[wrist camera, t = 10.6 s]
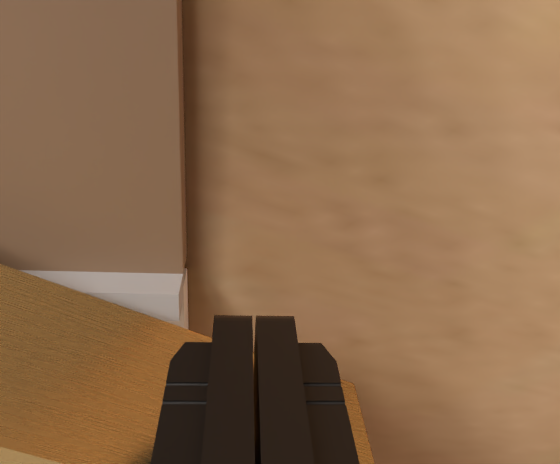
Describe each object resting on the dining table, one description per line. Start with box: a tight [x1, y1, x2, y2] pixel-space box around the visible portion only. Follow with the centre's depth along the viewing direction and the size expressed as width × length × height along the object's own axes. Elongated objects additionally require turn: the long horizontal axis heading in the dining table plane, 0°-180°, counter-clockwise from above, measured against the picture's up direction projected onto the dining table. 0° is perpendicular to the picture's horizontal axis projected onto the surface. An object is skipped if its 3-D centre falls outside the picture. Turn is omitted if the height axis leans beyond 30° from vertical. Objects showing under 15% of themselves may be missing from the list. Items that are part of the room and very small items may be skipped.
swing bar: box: [0, 264, 374, 464], centre depth 10 cm, size 15×4×5 cm, turn 64°
